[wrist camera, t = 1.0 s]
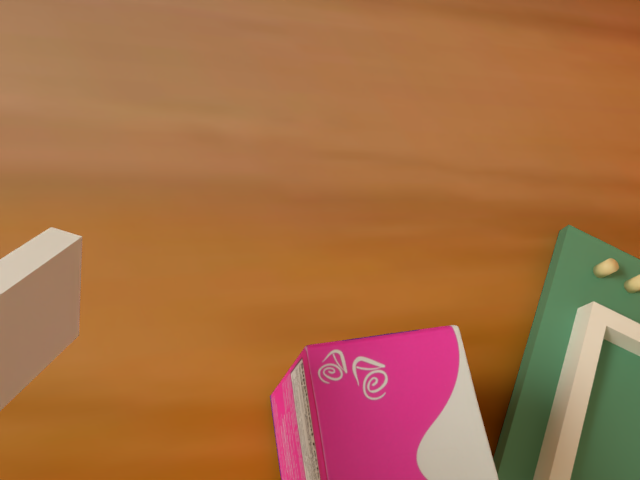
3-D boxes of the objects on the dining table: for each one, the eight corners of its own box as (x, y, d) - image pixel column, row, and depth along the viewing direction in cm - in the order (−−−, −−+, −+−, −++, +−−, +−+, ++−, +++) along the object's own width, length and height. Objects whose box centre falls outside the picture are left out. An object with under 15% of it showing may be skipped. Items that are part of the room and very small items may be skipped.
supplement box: (376, 373, 32) (465, 321, 21) (399, 494, 30) (511, 503, 19) (266, 389, 30) (304, 342, 20) (283, 517, 28) (334, 540, 18)
